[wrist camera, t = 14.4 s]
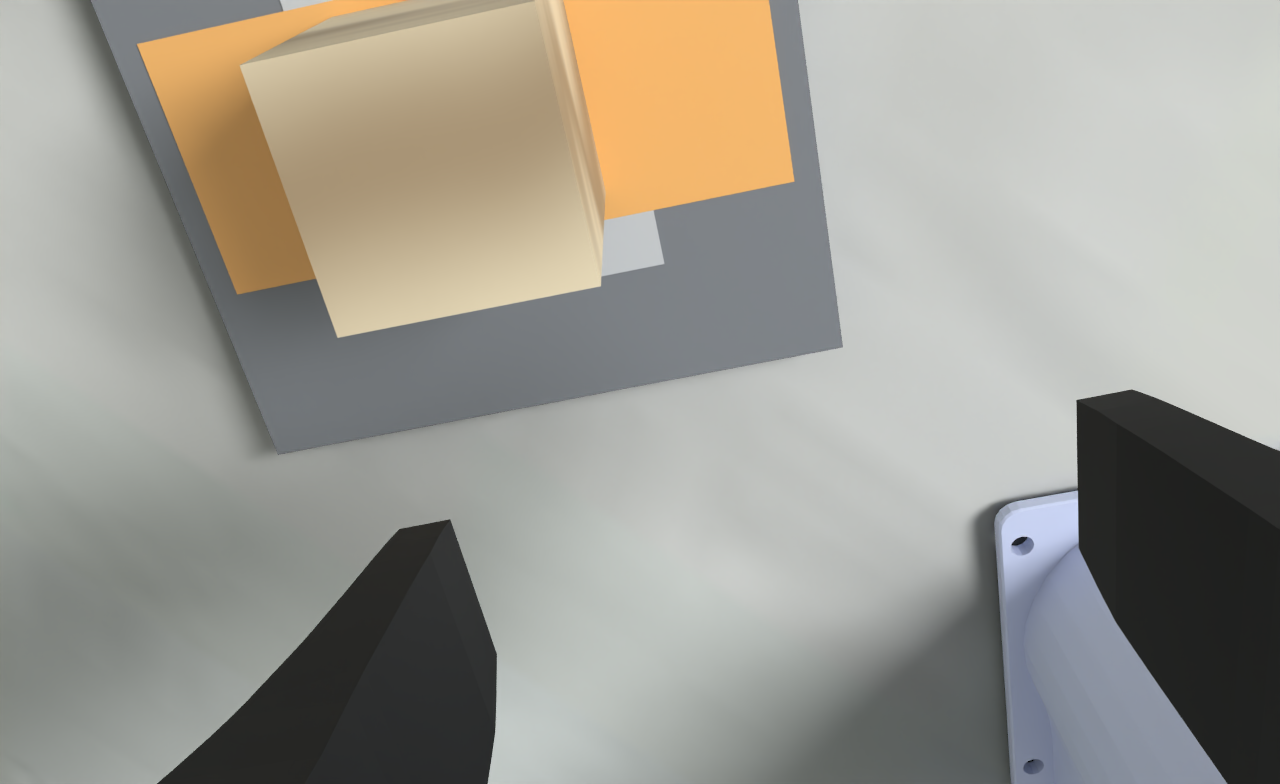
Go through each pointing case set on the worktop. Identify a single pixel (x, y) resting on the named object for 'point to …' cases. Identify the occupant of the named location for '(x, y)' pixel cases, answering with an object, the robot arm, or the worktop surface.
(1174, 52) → the worktop surface
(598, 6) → the breaker panel
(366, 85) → the block
